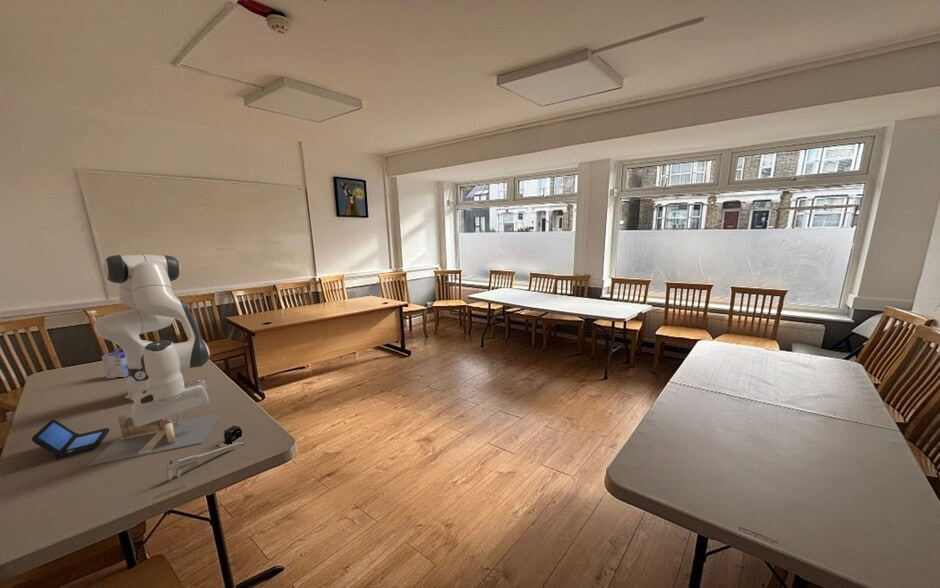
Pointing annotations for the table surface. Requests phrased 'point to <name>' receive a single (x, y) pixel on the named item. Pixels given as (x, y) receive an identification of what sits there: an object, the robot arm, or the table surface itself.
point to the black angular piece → (232, 434)
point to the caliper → (195, 460)
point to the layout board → (158, 440)
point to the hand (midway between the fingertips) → (176, 426)
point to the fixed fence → (132, 430)
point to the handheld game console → (67, 440)
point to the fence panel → (168, 430)
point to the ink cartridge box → (115, 364)
